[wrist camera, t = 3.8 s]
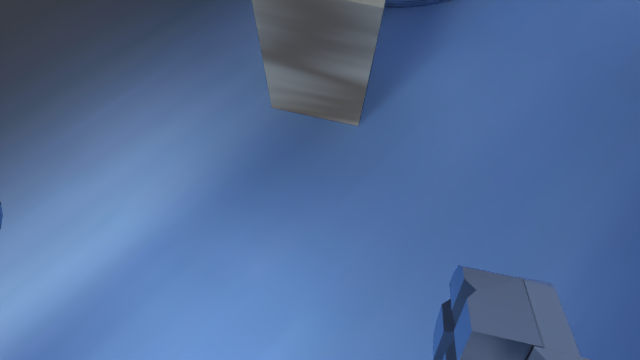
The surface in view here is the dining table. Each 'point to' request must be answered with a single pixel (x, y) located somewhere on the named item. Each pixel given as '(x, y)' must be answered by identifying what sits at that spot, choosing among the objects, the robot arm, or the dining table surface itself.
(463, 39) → the dining table surface
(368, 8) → the tall beige block
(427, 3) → the slotted white disc
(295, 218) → the dining table surface
